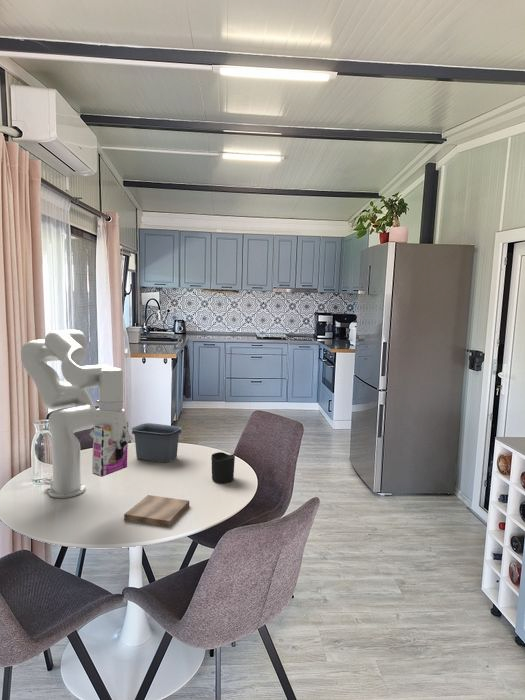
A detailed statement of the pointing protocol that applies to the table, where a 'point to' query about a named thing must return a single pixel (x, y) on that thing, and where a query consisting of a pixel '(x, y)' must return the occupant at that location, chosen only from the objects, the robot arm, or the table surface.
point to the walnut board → (157, 510)
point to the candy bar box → (106, 452)
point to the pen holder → (222, 467)
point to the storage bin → (156, 442)
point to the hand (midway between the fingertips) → (110, 457)
